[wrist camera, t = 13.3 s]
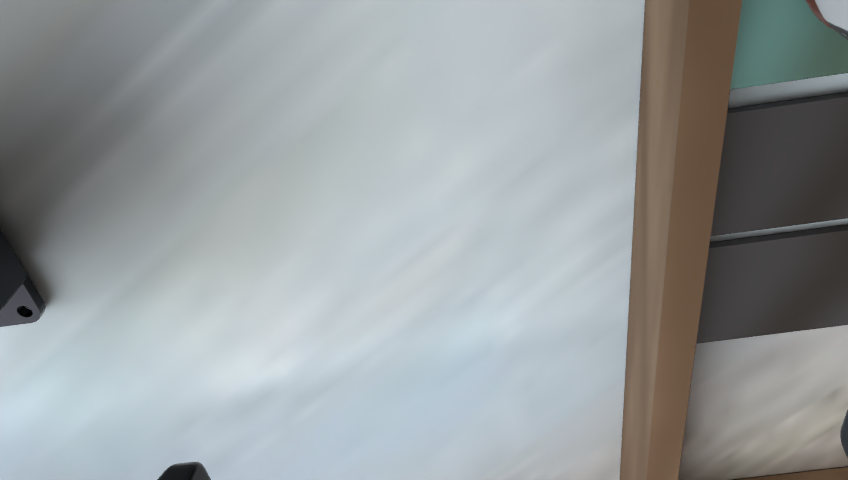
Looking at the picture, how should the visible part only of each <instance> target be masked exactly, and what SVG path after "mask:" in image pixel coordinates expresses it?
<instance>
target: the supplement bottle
mask: <svg viewBox="0 0 848 480" xmlns="http://www.w3.org/2000/svg"><path fill="white" fill-rule="evenodd" d="M805 1H806V2H807V4H808V6H809V8H810V9H811V10H812V12H813V13H814V14H815V15H816V17H817V18H818V19H819V20H820V21H821V22H823V23H824V24H825V25H826V26H828V27H829V28H831V29H833V30H835V31H836V32H838V33H839V34H840V35H841V36H843V37H844V38H846V39H847V40H848V0H805Z"/></svg>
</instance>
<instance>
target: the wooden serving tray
mask: <svg viewBox="0 0 848 480" xmlns="http://www.w3.org/2000/svg"><path fill="white" fill-rule="evenodd" d="M843 73H848V40H847V39H846V38H844V37H843V36H841V35H840V34H839V33H838V32H836V31H835V30H833V29H831V28H829V27H828V26H826V25H825V24H824V23H823V22H821V21H820V20H819V19H818V18H817V17H816V15H815V14H814V13H813V12H812V10H811V9H810V8H809V6H808V4H807V2H806V1H805V0H645V13H644V32H643V51H642V70H641V89H640V108H639V126H638V145H637V164H636V183H635V202H634V221H633V240H632V259H631V278H630V297H629V316H628V334H627V353H626V372H625V391H624V410H623V429H622V448H621V467H620V480H678V475H679V467H680V460H681V452H682V445H683V437H684V430H685V422H686V415H687V408H688V400H689V393H690V385H691V378H692V370H693V363H694V355H695V348H696V343H705V342H713V341H721V340H729V339H737V338H745V337H753V336H761V335H769V334H777V333H785V332H793V331H801V330H809V329H817V328H825V327H833V326H841V325H848V225H842V226H834V227H827V228H819V229H811V230H804V231H796V232H789V233H781V234H773V235H766V236H758V237H751V238H743V239H735V240H728V241H720V242H712V243H710V236H716V235H724V234H731V233H739V232H746V231H754V230H762V229H769V228H777V227H784V226H792V225H799V224H807V223H815V222H822V221H830V220H837V219H845V218H848V92H846V93H839V94H832V95H825V96H817V97H810V98H803V99H796V100H789V101H782V102H775V103H768V104H761V105H753V106H746V107H739V108H732V109H728V102H729V95H730V89H737V88H745V87H752V86H759V85H766V84H773V83H780V82H787V81H794V80H801V79H808V78H815V77H822V76H829V75H836V74H843ZM738 480H848V467H843V468H834V469H826V470H817V471H808V472H799V473H791V474H782V475H773V476H764V477H756V478H747V479H738Z"/></svg>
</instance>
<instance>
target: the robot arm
mask: <svg viewBox="0 0 848 480" xmlns="http://www.w3.org/2000/svg"><path fill="white" fill-rule="evenodd" d="M24 306H26V307H28V308H30V309H31V310H30V309H27V308H25V307H24ZM45 308H46V306H45V303H44V301H43V299H42V298H41V296H40V294H39V293H38V291H37V289H36V288H35V286H34V285H33V283H32V281H31V280H30V278H29V276H28V275H27V273H26V271H25V270H24V268H23V266H22V265H21V263H20V261H19V260H18V258H17V256H16V255H15V253H14V251H13V250H12V248H11V246H10V245H9V243H8V242H7V240H6V238H5V237H4V235H3V233H2V232H1V230H0V327H3V326H11V325H18V324H26V323H32V322H36V321H37V320H38V319H39V318H40V317H41V316H42V314H43V313H44V311H45ZM841 442H842V446H843V449H844V451H845V453H846V456H847V458H848V410H847V413H846V416H845V419H844V422H843V425H842V427H841ZM158 480H211V479H210V477H209V475H208V473H207V471H206V469H205V468H204V466H203V465H202V464H201V463H199V462H189V463H179V464H174V465H172V466H170V467H169V468H167V469H166V470H165V472H164V473H163V474H162V475H161V476H160V477H159V479H158Z"/></svg>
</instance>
